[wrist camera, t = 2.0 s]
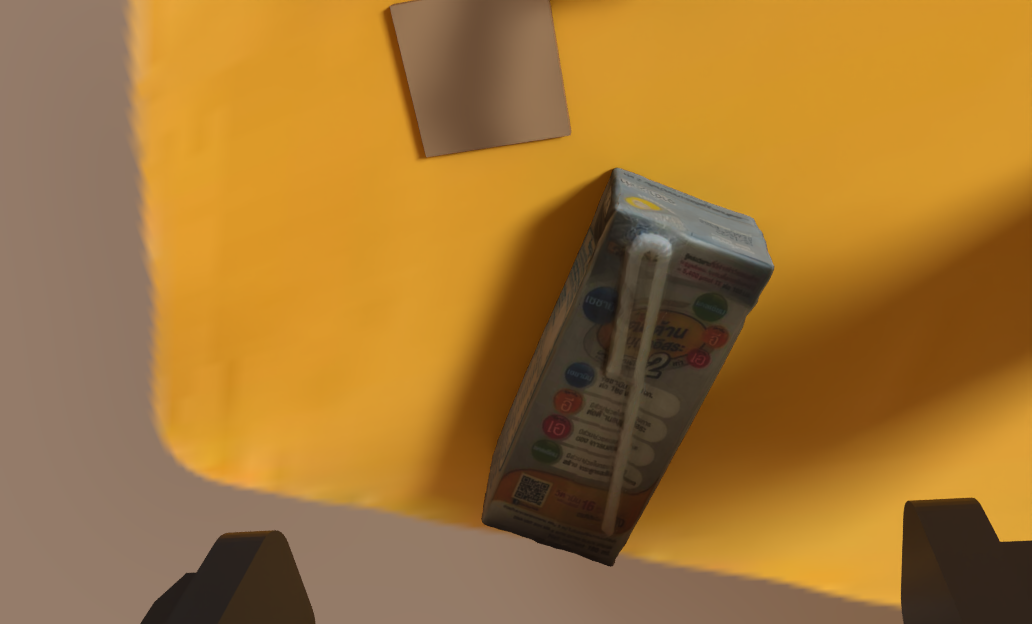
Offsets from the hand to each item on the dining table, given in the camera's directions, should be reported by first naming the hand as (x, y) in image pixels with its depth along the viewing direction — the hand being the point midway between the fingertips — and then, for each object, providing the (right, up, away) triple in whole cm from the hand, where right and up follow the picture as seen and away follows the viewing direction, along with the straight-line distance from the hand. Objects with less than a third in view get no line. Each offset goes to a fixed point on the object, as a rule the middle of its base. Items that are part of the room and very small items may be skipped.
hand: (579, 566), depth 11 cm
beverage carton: (+4, +2, +35) cm, 36 cm away
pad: (-2, +14, +29) cm, 32 cm away
